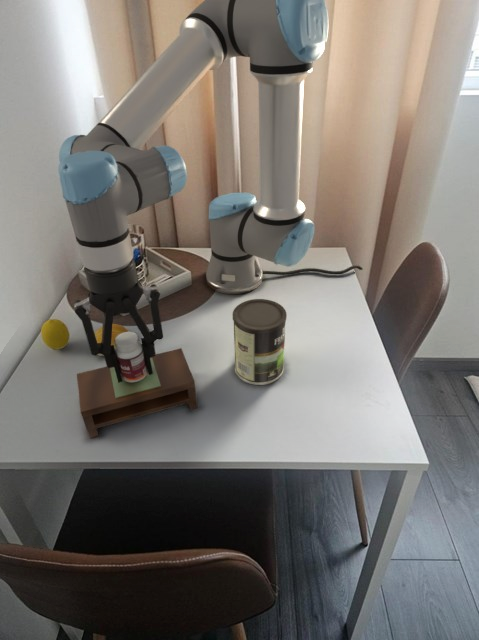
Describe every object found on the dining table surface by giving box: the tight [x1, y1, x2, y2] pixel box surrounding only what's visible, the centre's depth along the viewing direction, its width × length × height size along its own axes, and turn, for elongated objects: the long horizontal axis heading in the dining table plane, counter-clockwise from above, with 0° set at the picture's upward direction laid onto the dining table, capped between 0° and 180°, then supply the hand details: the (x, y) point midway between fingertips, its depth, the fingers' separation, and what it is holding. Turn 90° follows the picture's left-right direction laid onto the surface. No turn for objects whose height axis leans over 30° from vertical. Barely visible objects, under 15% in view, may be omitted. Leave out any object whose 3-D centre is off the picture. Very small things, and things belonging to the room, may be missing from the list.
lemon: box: [40, 318, 70, 350], centre depth 97 cm, size 6×6×8 cm
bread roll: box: [94, 323, 129, 357], centre depth 99 cm, size 8×9×4 cm
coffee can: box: [232, 298, 287, 386], centre depth 89 cm, size 10×10×14 cm
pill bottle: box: [115, 331, 148, 382], centre depth 78 cm, size 5×5×8 cm
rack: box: [76, 347, 198, 439], centre depth 83 cm, size 20×10×7 cm, turn 110°
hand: (134, 373), depth 81 cm, fingers closed on pill bottle, 5 cm apart
